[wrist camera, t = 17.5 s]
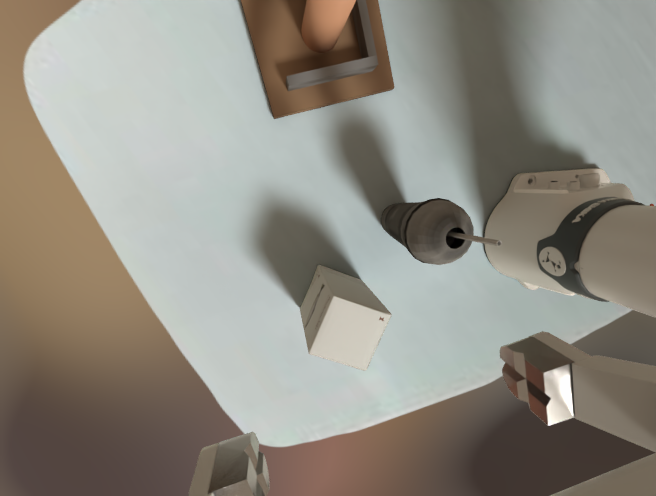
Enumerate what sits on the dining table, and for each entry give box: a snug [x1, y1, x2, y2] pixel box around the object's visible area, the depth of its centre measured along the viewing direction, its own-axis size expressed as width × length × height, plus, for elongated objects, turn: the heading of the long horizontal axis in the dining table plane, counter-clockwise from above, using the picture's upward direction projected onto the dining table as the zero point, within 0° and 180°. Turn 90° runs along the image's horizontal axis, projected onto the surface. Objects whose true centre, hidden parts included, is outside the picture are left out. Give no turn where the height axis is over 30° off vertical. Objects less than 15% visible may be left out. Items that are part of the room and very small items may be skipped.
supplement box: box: [300, 265, 392, 371], centre depth 40 cm, size 7×7×13 cm
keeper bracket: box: [241, 0, 394, 119], centre depth 37 cm, size 16×16×4 cm
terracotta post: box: [301, 0, 356, 53], centre depth 32 cm, size 4×4×12 cm
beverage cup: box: [381, 198, 502, 265], centre depth 36 cm, size 7×7×20 cm
